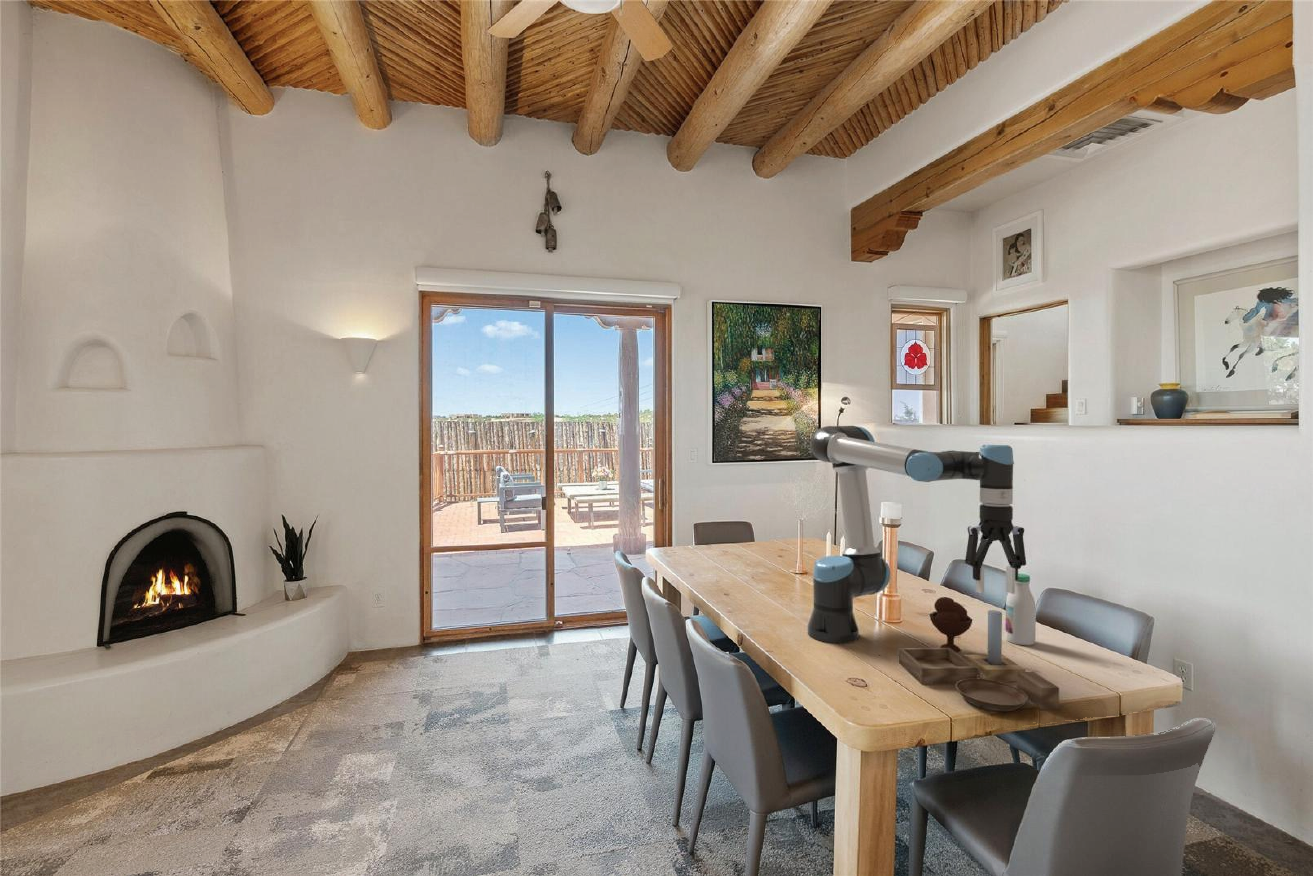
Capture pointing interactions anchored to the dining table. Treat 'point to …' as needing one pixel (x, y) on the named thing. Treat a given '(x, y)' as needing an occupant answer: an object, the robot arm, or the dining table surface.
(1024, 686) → the block
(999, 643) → the dowel
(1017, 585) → the milk bottle
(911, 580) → the dining table surface
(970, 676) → the tray
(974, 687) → the saucer
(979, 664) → the socket block
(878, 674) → the dining table surface
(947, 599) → the ice cream bowl
